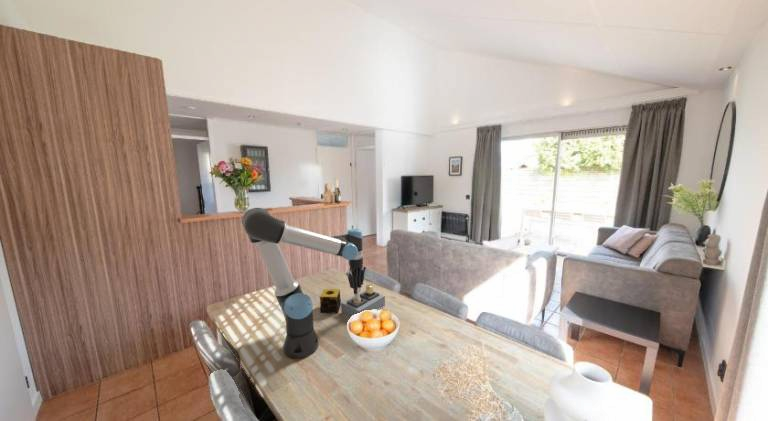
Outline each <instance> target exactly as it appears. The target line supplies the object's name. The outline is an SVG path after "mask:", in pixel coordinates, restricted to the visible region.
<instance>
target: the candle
mask: <svg viewBox="0 0 768 421" xmlns="http://www.w3.org/2000/svg"><path fill="white" fill-rule="evenodd" d="M341 300H342V299H341V289H340V288H323V290H322V292H321V294H320V295H319V301H320V302H319V304H320V305H319V307H320V308H319V310H320V311H319V312H320V313H321V314H338V313H339V311H340V310H341V303H342V301H341Z"/></svg>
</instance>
